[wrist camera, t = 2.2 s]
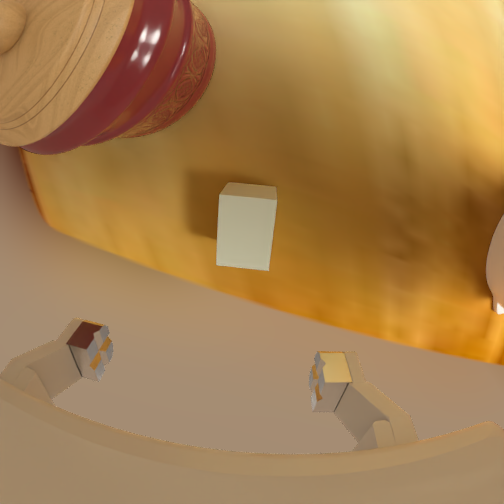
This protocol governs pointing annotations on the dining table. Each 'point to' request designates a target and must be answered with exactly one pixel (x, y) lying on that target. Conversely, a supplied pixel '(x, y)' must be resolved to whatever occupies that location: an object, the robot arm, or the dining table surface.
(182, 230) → the dining table surface
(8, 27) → the canister
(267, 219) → the sage block
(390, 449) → the robot arm
